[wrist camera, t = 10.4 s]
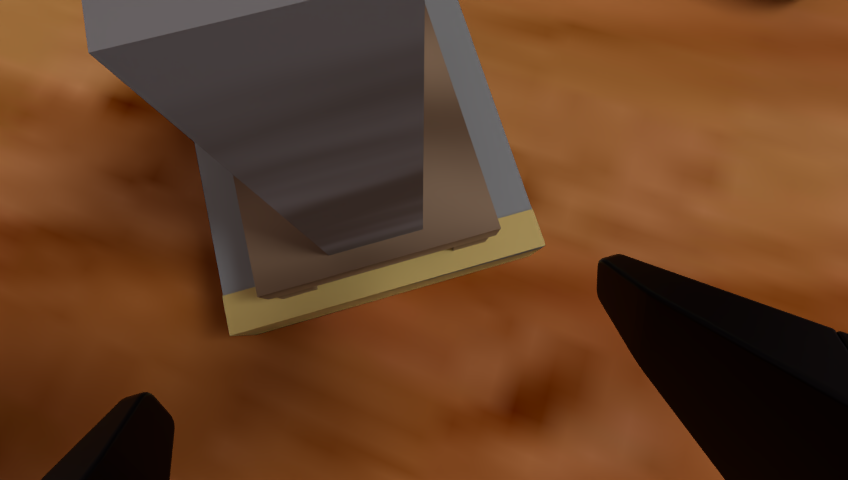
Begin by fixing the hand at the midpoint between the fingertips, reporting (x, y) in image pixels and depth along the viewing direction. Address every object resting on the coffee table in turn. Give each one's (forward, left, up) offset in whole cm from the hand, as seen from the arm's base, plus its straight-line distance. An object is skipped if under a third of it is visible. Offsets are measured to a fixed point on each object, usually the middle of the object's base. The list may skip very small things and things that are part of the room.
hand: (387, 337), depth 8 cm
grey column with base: (+8, +1, -8) cm, 11 cm away
